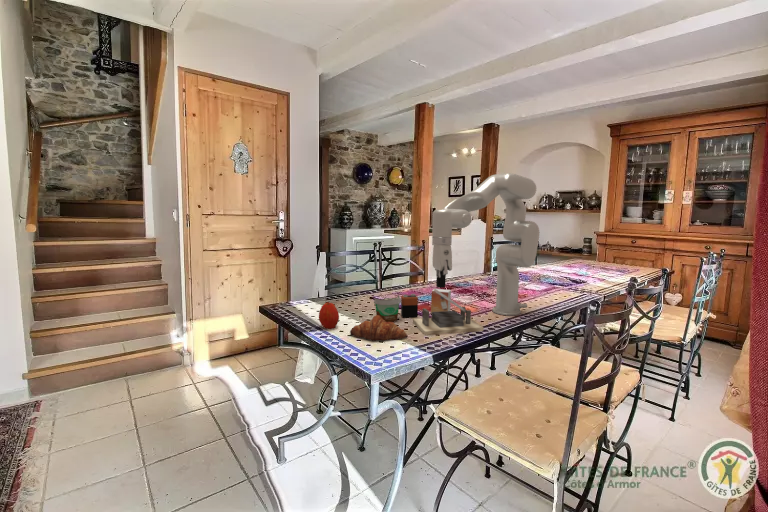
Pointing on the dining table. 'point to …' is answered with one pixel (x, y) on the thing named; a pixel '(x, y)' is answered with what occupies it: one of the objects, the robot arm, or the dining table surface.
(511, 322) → the dining table surface
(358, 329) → the pastry
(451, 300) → the clamp bar
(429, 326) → the heatsink board
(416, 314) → the battery
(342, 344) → the dining table surface
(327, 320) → the red egg
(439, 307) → the small box
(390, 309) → the food container
